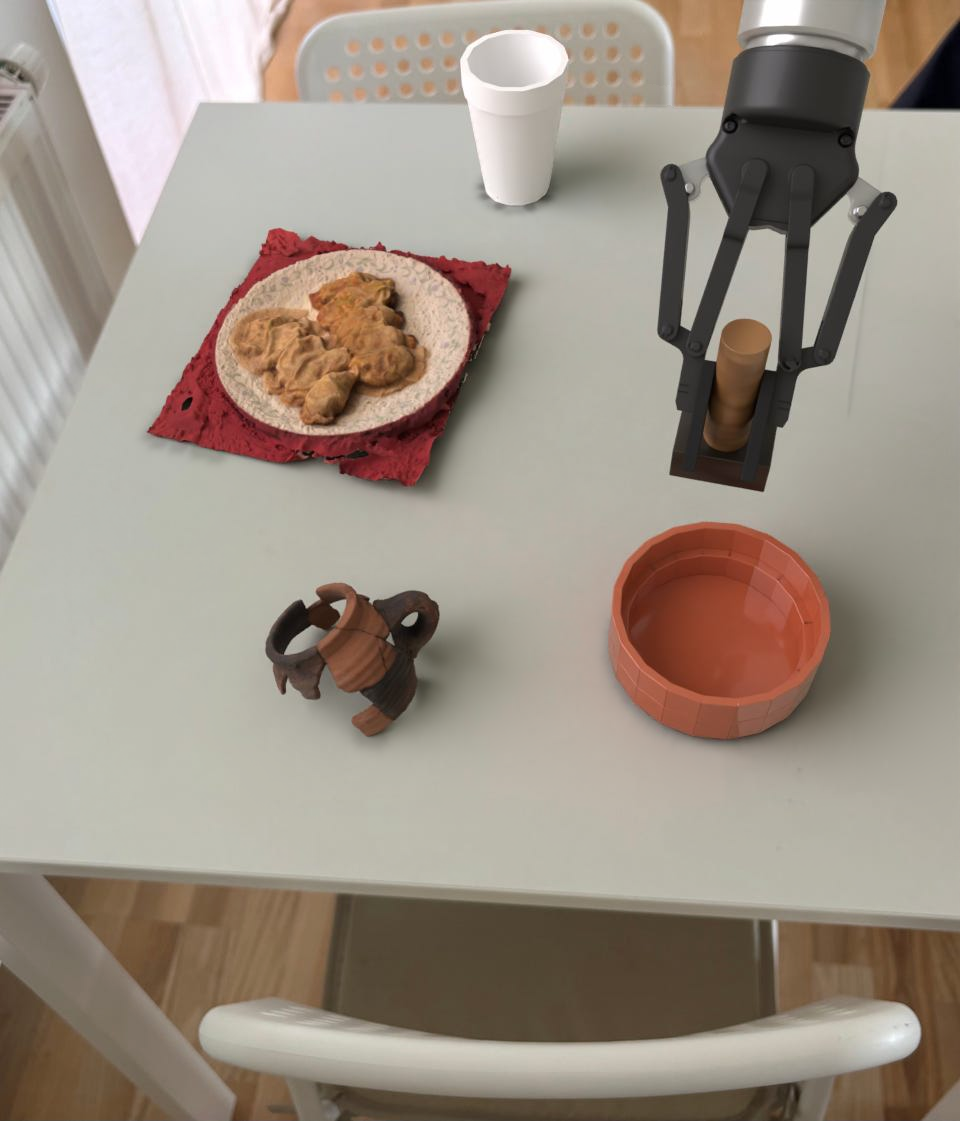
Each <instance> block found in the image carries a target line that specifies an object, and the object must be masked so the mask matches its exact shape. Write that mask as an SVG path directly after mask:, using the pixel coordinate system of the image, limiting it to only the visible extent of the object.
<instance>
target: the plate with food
mask: <svg viewBox="0 0 960 1121" xmlns="http://www.w3.org/2000/svg"><path fill="white" fill-rule="evenodd" d="M260 245H261V249H260V250H258V254H259V257H258V258H257V260H256V261H255V263H254V264H253V265H252V267H251V269H250V270H249V272H248V274H247V276H246V277H245V278H244V281H243V282H242V283H241V284H238V286H237V287H234V288H233V289H232V291H231V293H230V296H229V300H228V301H227V303H226V305H225V306H224V308H221V309H220V311H219V312H218V314H217V315H216V319H215V320H214V323H213V324H212V326H211V328H210V330H209V331H208V332H207V334H206V335H205V337H204V338H203V341H202V342H201V344H200V347H199V349H198V350H197V352H196V354H195V355H194V356H191V359H190V362H189V363H187V364H186V366H184V367H185V368H184V369H183V371H182V374H181V378H180V380H179V381H178V382H177V383H176V385H175V387H174V388H173V389H172V390H171V392H170V394H168V395H167V396H166V400H165V404H164V405H163V406H162V408H161V411H160V413H159V415H158V416H157V417H156V418H155V420H154V422H153V423H152V425H151V426H149V428H148V429H147V431H146V433H147V434H151V435H155V436H156V437H157V438H160V437H164V438H166V439H173V440H175V441H177V442H181V443H182V441H188V442H191V443H194V444H195V445H196V446H197V447H202V448H203V447H205V448H208V449H211V450H213V451H217V450H218V451H224V452H228V453H230V454H238V455H243V456H246V457H251V458H256V459H259V460H263V461H264V460H266V461H267V462H273V463H278V464H280V463H281V464H282V463H290V462H294V461H302V460H307V459H308V458H309V457H310V456H309V455H308V454H310V453H311V452H312V451H313V454H311V457H312V458H321V457H324V458H323V461H324V464H328V465H329V464H330V465H332V466H333V465H335V464H336V463H338V467H339V468H338V469H339V470H338V472H339V474H340V475H348V476H349V477H355V478H358V479H367V480H370V481H371V482H375V481H379V480H381V479H385V480H387V481H391V480H392V479H393V480H394V479H395V480H396V481H397V482H398V483H400V484H401V485H402V486H403V487H413V486H414V485H415V484H416V482H417V481H418V480H419V479H420V477H421V476H422V474H423V472H424V469H425V468H426V467H428V466H429V464H430V453H431V449H432V446H433V443H434V441H435V439H436V438H442V436H443V432H444V431H445V427H446V423H447V420H448V419H449V416H450V412H452V410H453V406H454V405H455V404H456V401H457V398H458V396H459V394H460V391H461V388H462V387H463V384H464V383H466V379H467V377H469V374H468V373H467V371H465V372H464V370H465V366H466V364H467V362H468V361H469V362H472V359H473V360H476V359H477V355H478V354H479V351H480V349H481V347H482V344H483V342H484V340H485V338H486V337H485V336H486V334H485V332H486V333H487V332H490V331H491V330H490V329H491V327H492V323H491V322H490V321H491V319H492V316H493V314H494V313H495V312H496V311H497V309H498V307H499V305H500V302H501V301H502V298H503V296H504V294H505V291H506V289H507V286H508V284H509V282H510V281H509V280H510V278H511V275H512V268H511V267H509V266H510V265H509V264H508V263H507V264H506V265H505V267H504V266H502V265H500V264H499V263H497V262H495V263H491V264H487V263H486V262H485V261H483V260H477V261H466V260H460V259H458V258H456V257H452V258H451V259H447V257H446V256H445V255H444V254H443V255H440V256H439V257H435V256H430V255H428V256H426V255H419V254H414V253H411V251H407V252H406V251H405V252H404V251H402V250H401V249H392V250H390V251H387V247H386V246H385V245H383V244H382V242H381V241H378V242H377V244H376V245H374V246H369V247H368V248H365V247H364V246H360V247H358V248H357V247H349V246H348V245H346V244H345V243H343V242H336V241H335V240H334V239H333V240H331V241H329V240H326V241H325V240H320V239H319V238H317V237H315V236H313V235H311V236H308V238H306V239H305V240H304V241H303V240H302V239H301V237H300V236H299V235H298V233H297V232H295V231H290V230H286V229H283V228H282V227H277V228H272V229H269V230H268V231H267V236H266V239H265V242H264V243H261V244H260ZM473 351H474V353H473V354H472V353H471V352H473ZM472 355H473V356H472ZM471 357H473V358H471ZM463 372H464V375H463V377H462V374H463ZM461 377H462V378H461ZM188 398H192V401H191V403H190V406H189V407H188V408H187V409H184V410H182V408H183V404H184V402H185V401H186V400H188ZM363 451H364V452H365V453H367V454H368V455H367V456H364V457H357V458H354V459H353V458H347V456H348V455H349V454H350V455H352V454H353V453H355V452H359V453H361V452H363ZM304 453H305V454H304Z"/></svg>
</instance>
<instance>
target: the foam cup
mask: <svg viewBox="0 0 960 1121" xmlns="http://www.w3.org/2000/svg"><path fill="white" fill-rule="evenodd" d="M569 61H570V60H569V56H568V53H567V51H566V48H565V46H564V45H563V44H562V43H561V42H559V41H558V40H556V38H554V37H552V36H551V35H549V34H545V33H541V32H538V31H535V30H532V29H531V30H530V29H504V30H500V31H497V32H493V33H488V34H485V35H482V36H481V37H480V38H478V39H477V40H475V41H473V42H471V43H470V44H468V45H467V46H466V48H465V50H464V52H463V53H462V56H461V57H460V59H459V62H460V78H461V79H460V80H461V86H462V91H463V95H464V99H466V102H467V107H468V111H469V115H470V121H471V127H472V130H473V135H474V140H475V146H476V150H477V156H478V160H479V161H478V162H479V165H480V166H479V167H480V170H481V175H482V180H483V185H484V190H485V193H486V195H487V196H489V197H490V199H491V200H493V201H494V202H496V203H499V204H503V205H505V206H512V207H513V206H518V207H520V206H521V207H523V206H526V205H529V204H534V203H536V202H538V201H539V200H540V199H542V198H543V197H544V196H545V195H547V192H548V189H549V188H550V184H551V180H552V175H553V169H554V162H555V156H556V149H557V142H558V136H559V130H560V124H561V118H562V113H563V112H562V111H563V106H564V100H565V93H566V91H567V88H568V87H569V68H570V67H569V65H570V64H569V63H570V62H569ZM497 197H498V198H497Z"/></svg>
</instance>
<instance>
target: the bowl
mask: <svg viewBox="0 0 960 1121" xmlns="http://www.w3.org/2000/svg"><path fill="white" fill-rule="evenodd" d="M611 599H612V600H611V610H610V618H609V631H608V632H609V633H608V645H607V649H608V655H609V658H610V662H611V665H612V668H613V671H614V675H615V677H616V680H617V681H618V682H619V684H620V686H621V687H622V689H623V690H624V691H625V693H626V694H627V695H628V697H629V699H631V701H632V702H633V703H634V705H636V706H637V707H639V709H641V710H642V711H644V712H645V713H647V714H648V715H649V717H652V718H653V719H654V720H655V721H657V722H658V723H659V724H661V725H664V726H666V727H669V728H672V729H673V730H676V731H678V732H681V733H684V734H686V735H689V736H692V737H700V738H708V739H718V740H719V739H720V740H732V739H737V738H743V737H746V736H751V735H758V734H760V733H762V732H764V731H766V730H768V729H769V728H771V727H773V726H775V725H776V724H778V723H780V722H782V721H783V720H786V719H787V718H788V717H789V716H790V715H791V714H792V713H793V712H794V711H795V709H797V707H798V706H799V705H800V703H801V702H802V701H803V700H804V699H805V698H806V696H807V695H808V692H809V691H810V688H811V685H812V683H813V682H814V679H815V677H816V675H817V672H818V670H819V668H820V665H821V663H822V661H823V658H824V655H825V652H826V648H827V646H828V643H829V640H830V637H831V634H832V628H831V627H832V625H831V609H830V602H829V600H828V597H827V595H826V592H825V590H824V588H823V586H822V584H821V581H820V579H819V576H818V575H817V574H816V572H814V570H813V569H812V568H811V567H810V566H809V565H808V563H807V562H805V560H804V559H803V558H802V557H801V556H800V554H799V553H798V552H796V550H794V549H792V548H790V547H789V546H788V545H786V544H785V543H783V542H782V541H780V540H778V539H777V538H775V537H774V536H773V535H770V534H769V533H766V532H763V531H761V530H757V529H754V528H751V527H748V526H746V525H742V524H739V523H733V522H732V523H730V522H720V521H719V522H718V521H717V522H716V521H698V522H694V523H688V524H683V525H678V526H677V525H676V526H674V527H671V528H669V529H667V530H665V531H663V532H660V533H659V534H657V535H655V536H652V537H651V538H648V539H647V540H645V541H644V542H643V543H642V544H641V545H640V546H639V547H638V548H637V549H636V550H635V551H634V552H633V553H632V554H631V555H630V556H629V557H627V559H626V560H625V562H624V563H623V565H622V568H621V570H620V572H619V574H618V576H617V579H616V581H615V583H614V585H613V590H612V598H611Z"/></svg>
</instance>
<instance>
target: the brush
mask: <svg viewBox="0 0 960 1121" xmlns="http://www.w3.org/2000/svg"><path fill="white" fill-rule="evenodd" d="M772 341H773V336H772V332H771V330H770V329H769V328H768V326H766V325H765V324H764V323H762V322H761V321H758V320H756V319H751V318H737V319H733V320H731V321H730V322H728V323H726V324H725V326H724V327H723V328H722V330H721V333H720V339H719V343H718V349H717V355H716V360H715V361H716V367H715V372H714V377H713V383H712V388H711V394H710V399H709V405H708V410H707V415H706V420H705V425H704V430H703V435H702V440H701V445H700V450H699V455H698V460H697V465H696V469H695V472H690V471H685V470H682V466H683V461H684V456H685V451H686V445H687V440H688V435H689V430H690V425H691V420H692V415H693V413H691V412H685V411H681V413H680V417H679V421H678V425H677V429H676V435H675V438H674V444H673V447H672V452H671V459H670V465H669V473H668V475H669V476H671V477H677V478H683V479H687V480H693V481H699V482H703V483H704V482H705V483H710V484H716V485H721V486H725V487H726V486H727V487H731V488H738V489H743V490H747V491H748V490H749V491H755V492H760V493H764V492H765V489H766V486H767V481H768V478H769V474H770V471H771V467H772V460H773V455H774V450H775V443H776V438H777V430H778V427H774V426H768V425H766V430H765V435H764V439H763V444H762V449H761V453H760V458H759V463H758V468H757V472H756V477H755V482H754V483H752V482H746V481H741V474H742V469H743V465H744V460H745V455H746V450H747V445H748V441H749V436H750V431H751V426H752V421H753V416H754V412H755V408H756V404H757V399H758V395H759V391H760V387H761V382H762V378H763V374H764V370H765V369H766V367H767V363H768V362H767V361H768V358H769V353H770V350H771V345H772Z"/></svg>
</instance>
